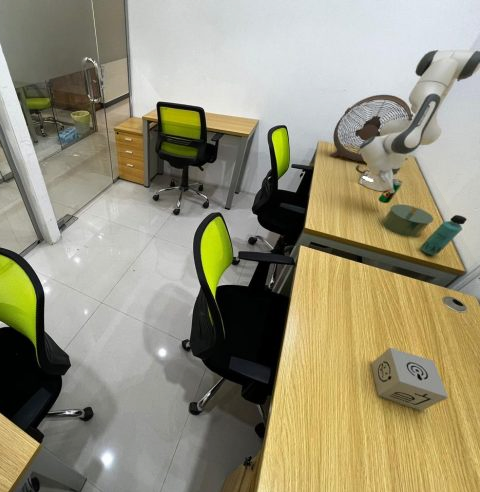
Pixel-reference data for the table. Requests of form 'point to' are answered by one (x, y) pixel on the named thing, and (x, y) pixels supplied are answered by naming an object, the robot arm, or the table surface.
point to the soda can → (386, 195)
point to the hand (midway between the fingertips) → (392, 189)
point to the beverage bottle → (443, 235)
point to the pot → (402, 225)
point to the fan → (366, 124)
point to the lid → (411, 214)
